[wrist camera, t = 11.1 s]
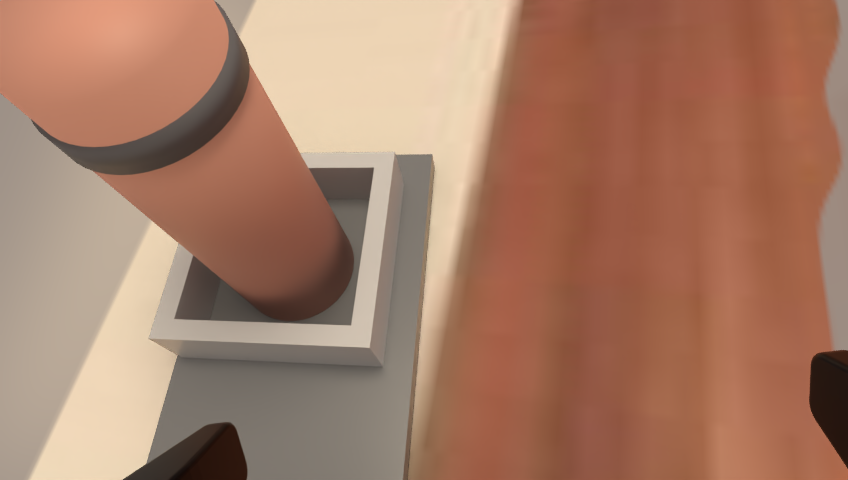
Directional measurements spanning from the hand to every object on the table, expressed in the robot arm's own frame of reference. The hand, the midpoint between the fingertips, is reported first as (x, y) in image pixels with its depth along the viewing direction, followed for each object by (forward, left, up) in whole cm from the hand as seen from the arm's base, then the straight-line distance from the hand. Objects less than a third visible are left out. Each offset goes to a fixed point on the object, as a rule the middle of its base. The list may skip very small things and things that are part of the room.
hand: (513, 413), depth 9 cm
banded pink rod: (+8, +9, -12) cm, 17 cm away
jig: (+5, +9, -14) cm, 17 cm away
